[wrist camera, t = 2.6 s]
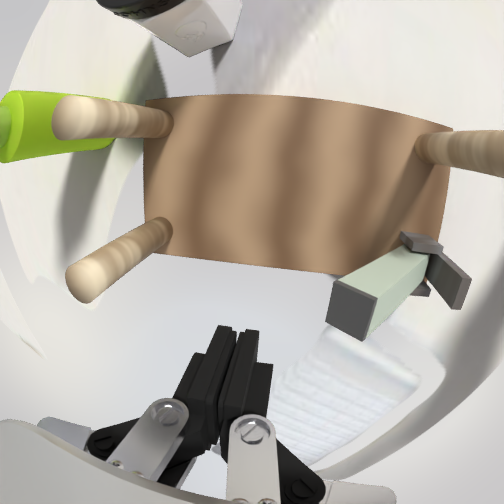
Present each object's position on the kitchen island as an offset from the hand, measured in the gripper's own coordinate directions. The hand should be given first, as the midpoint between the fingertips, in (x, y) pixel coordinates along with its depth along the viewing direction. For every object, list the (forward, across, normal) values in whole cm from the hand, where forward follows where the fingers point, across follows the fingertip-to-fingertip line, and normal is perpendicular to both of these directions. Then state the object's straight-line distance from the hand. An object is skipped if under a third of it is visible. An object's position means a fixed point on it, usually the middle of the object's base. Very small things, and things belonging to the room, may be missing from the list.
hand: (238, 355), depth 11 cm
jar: (+17, +8, -22) cm, 29 cm away
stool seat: (+16, -2, -5) cm, 17 cm away
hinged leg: (+10, -8, 0) cm, 13 cm away
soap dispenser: (+17, +19, -12) cm, 28 cm away
